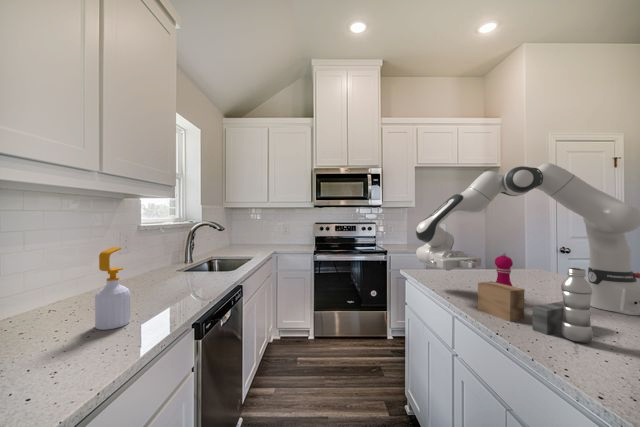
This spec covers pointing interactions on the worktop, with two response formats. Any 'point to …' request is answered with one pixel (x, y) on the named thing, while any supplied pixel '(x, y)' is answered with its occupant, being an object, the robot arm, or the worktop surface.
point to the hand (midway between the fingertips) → (474, 265)
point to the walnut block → (501, 300)
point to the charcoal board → (548, 317)
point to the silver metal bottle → (576, 306)
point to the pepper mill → (503, 269)
